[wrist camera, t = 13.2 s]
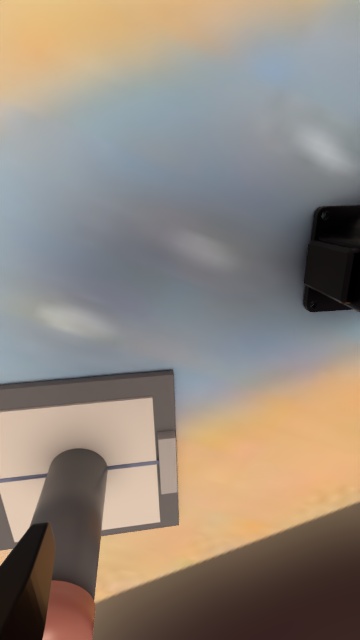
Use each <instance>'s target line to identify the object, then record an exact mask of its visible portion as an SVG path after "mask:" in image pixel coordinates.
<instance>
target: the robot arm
mask: <svg viewBox="0 0 360 640" xmlns="http://www.w3.org/2000/svg"><path fill="white" fill-rule="evenodd" d="M324 211H325V213H326V216H325V218H324V219H322V217H321V215H322V213H323V212H324ZM304 283H305V284H306V287H305V295H304V307H305V309H307V310H308V311H310V312H321V311H335V310H350V309H354V310H356V311H358V312H360V205H355V206H323V207H319V208H318V209H317V210H316V211H315V214H314V219H313V228H312V236H311V242H310V243H309V244H308V252H307V260H306V269H305V278H304ZM313 301H314V305H313V306H311V307H310V304H311V302H313ZM54 558H55V540H54V536H53V531H52V527H51V524H50V522H49V521H45V522H37V523H34V524H32V525H31V526H30V527H29V529H28V530H27V531H26V533H25V534H24V535H23V537H22V538H21V539H20V541H19V542H18V543H17V545H16V546H15V547H14V548H13V550H12V551H11V552H10V554H9V555H8V556H7V558H6V559H5V560H4V562H3V563H2V564H1V566H0V640H42V639H43V634H44V630H45V624H46V617H47V610H48V603H49V595H50V588H51V580H52V573H53V566H54Z"/></svg>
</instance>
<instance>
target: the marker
mask: <svg viewBox="0 0 360 640" xmlns="http://www.w3.org/2000/svg"><path fill="white" fill-rule="evenodd" d="M107 473H108V468H107V464H106V462H105V460H104V459H103V458H102V457H101V456H100V455H99V454H98V453H96V452H94V451H92V450H88V449H83V448H75V449H70V450H66V451H64V452H62V453H60V454H59V455H57V456H56V457H55V458H54V460H53V461H52V462H51V465H50V467H49V470H48V473H47V476H46V479H45V482H44V485H43V488H42V491H41V494H40V497H39V500H38V503H37V506H36V509H35V512H34V515H33V518H32V521H31V524H30V526H31V525H32V524H34V523H37V522H45V521H49V522H50V524H51V527H52V531H53V536H54V540H55V558H54V566H53V573H52V580H51V588H50V595H49V603H48V610H47V617H46V624H45V630H44V634H43V639H42V640H92V638H93V627H94V618H95V603H94V596H95V587H96V577H97V568H98V558H99V549H100V540H101V530H102V521H103V511H104V502H105V492H106V483H107Z"/></svg>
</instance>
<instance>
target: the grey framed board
mask: <svg viewBox="0 0 360 640" xmlns="http://www.w3.org/2000/svg"><path fill="white" fill-rule="evenodd" d="M75 448H83V449H88V450H92V451H94V452H96V453H98V454H99V455H100V456H101V457H102V458H103V459H104V460H105V462H106V464H107V468H108V473H107V483H106V492H105V502H104V511H103V521H102V530H101V536H106V535H113V534H120V533H127V532H134V531H141V530H148V529H155V528H162V527H169V526H176V525H179V513H178V483H177V453H176V423H175V393H174V373H173V370H169V371H157V372H145V373H134V374H122V375H110V376H99V377H87V378H75V379H64V380H52V381H40V382H28V383H17V384H5V385H0V550H7V549H13V548H14V547H15V546H16V545H17V543H18V542H19V541H20V539H21V538H22V537H23V535H24V534H25V533H26V531H27V530H28V529H29V527H30V524H31V521H32V518H33V515H34V512H35V509H36V506H37V503H38V500H39V497H40V494H41V491H42V488H43V485H44V482H45V479H46V476H47V473H48V470H49V467H50V465H51V462H52V461H53V460H54V458H55V457H56V456H57V455H59V454H60V453H62V452H64V451H66V450H70V449H75Z"/></svg>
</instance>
